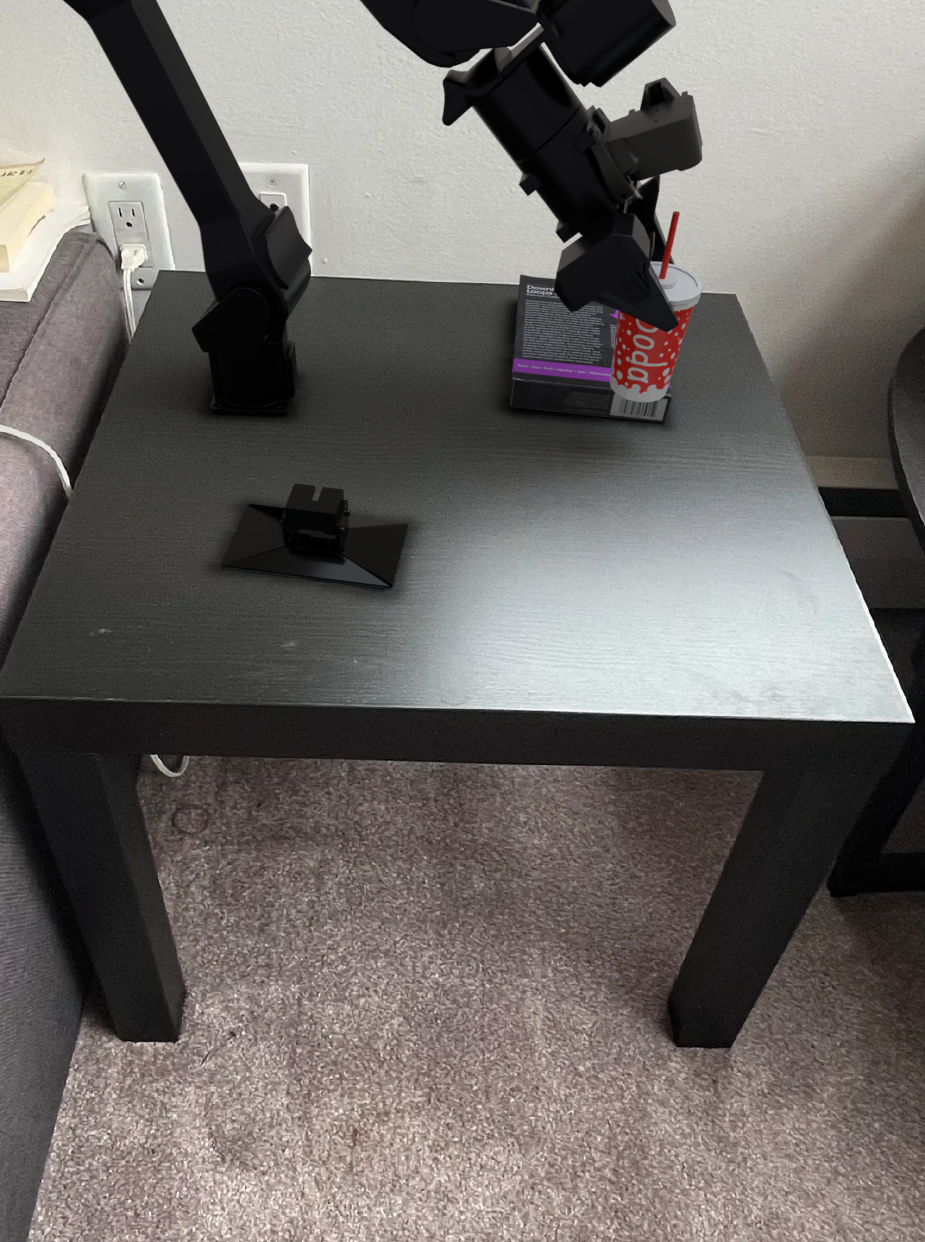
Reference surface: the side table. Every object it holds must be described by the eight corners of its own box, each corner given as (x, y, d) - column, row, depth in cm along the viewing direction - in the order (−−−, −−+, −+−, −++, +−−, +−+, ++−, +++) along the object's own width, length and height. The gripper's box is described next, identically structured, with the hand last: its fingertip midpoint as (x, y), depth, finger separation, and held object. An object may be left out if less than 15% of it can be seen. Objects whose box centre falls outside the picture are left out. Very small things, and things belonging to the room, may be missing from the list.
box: (664, 429, 86) (653, 315, 99) (673, 395, 83) (661, 282, 97) (506, 412, 86) (516, 300, 99) (510, 378, 84) (520, 268, 97)
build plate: (408, 527, 75) (410, 479, 71) (391, 594, 69) (392, 545, 66) (248, 506, 75) (242, 457, 72) (220, 570, 70) (212, 521, 67)
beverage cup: (586, 389, 78) (617, 214, 67) (620, 357, 81) (655, 186, 71) (657, 417, 75) (699, 241, 65) (688, 382, 79) (733, 210, 69)
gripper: (639, 98, 55) (779, 308, 62) (654, 9, 68) (768, 191, 75) (490, 217, 61) (632, 395, 68) (529, 115, 74) (645, 273, 81)
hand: (674, 307), depth 73 cm, fingers closed on beverage cup, 6 cm apart
